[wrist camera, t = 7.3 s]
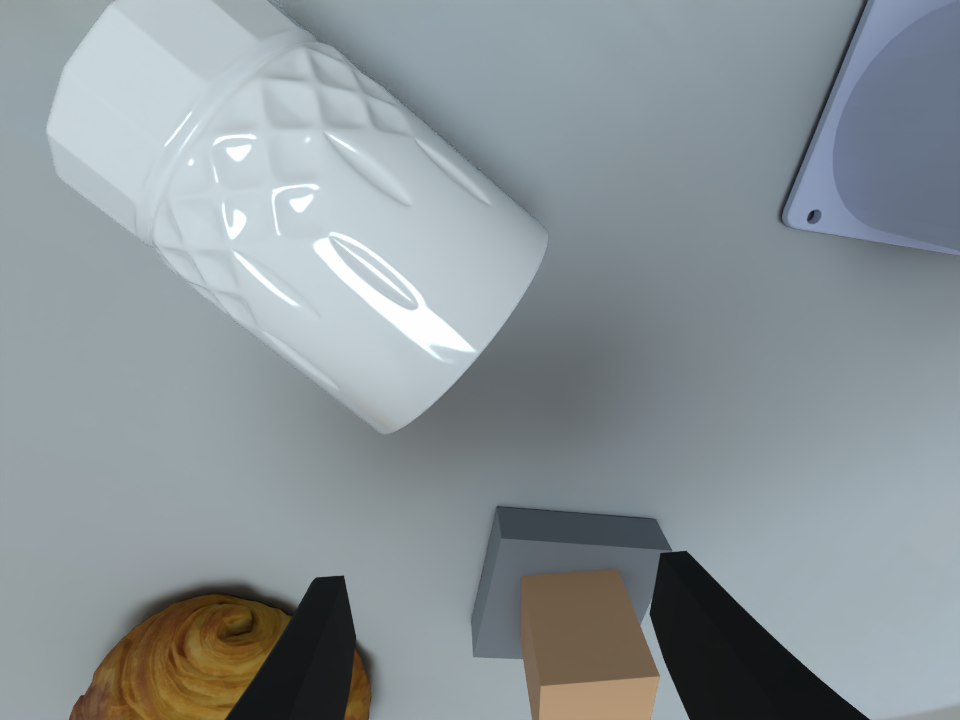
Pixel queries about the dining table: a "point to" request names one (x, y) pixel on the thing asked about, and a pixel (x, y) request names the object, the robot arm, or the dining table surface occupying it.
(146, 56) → the white cup
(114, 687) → the croissant
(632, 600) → the slate coaster
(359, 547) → the dining table surface
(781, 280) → the dining table surface
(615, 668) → the tan rectangular block
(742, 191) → the dining table surface
